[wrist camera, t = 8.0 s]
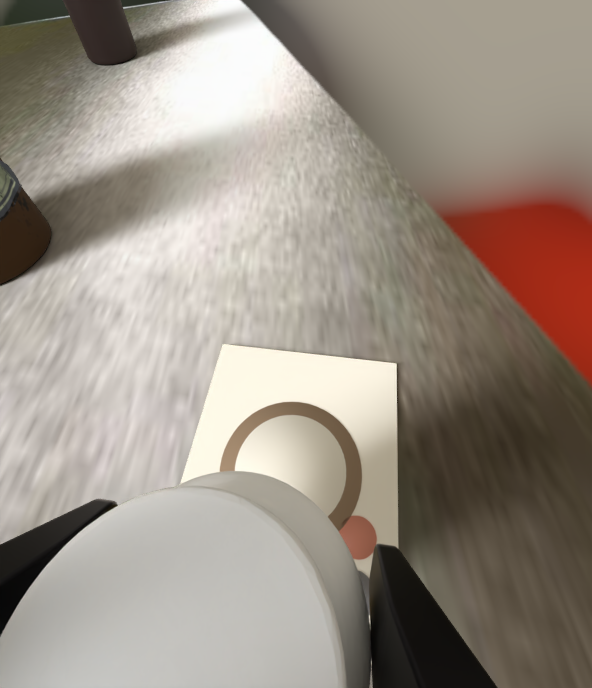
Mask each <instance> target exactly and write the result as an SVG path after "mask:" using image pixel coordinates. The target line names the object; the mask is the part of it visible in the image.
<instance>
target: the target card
mask: <svg viewBox="0 0 592 688" xmlns="http://www.w3.org/2000/svg"><path fill="white" fill-rule="evenodd" d="M224 471H246V472H253V473H259V474H263V475H267V476H270V477H273V478H276V479H278V480H280V481H283V482H285V483H287V484H289V485H290V486H292V487H294V488H295V489H297V490H298V491H300V492H301V493H303V494H304V495H305V496H307V497H308V498H309V499H310V500H311V501H313V502H314V503H315V504H316V505H317V506H318V507H319V508H320V509H321V510H322V511H323V512H324V513H325V514H326V516H327V517H328V518H329V519H330V521H331V522H332V523H333V525H334V526H335V527H336V528H337V530H338V531H339V533H340V535H341V536H342V538H343V540H344V542H345V543H346V545H347V547H348V548H349V551H350V553H351V555H352V557H353V559H354V562H355V564H356V567H357V570H358V572H359V575H360V578H361V581H362V585H363V589H364V593H365V597H366V602H367V608H368V613H369V622H370V605H369V577H370V571H371V564H372V558H373V552H374V547H375V545H376V544H378V543H380V544H386V545H392V546H395V547H397V548H398V462H397V364H396V363H387V362H379V361H370V360H361V359H352V358H343V357H334V356H325V355H316V354H307V353H298V352H289V351H280V350H271V349H263V348H254V347H245V346H236V345H227V344H223V345H222V349H221V352H220V355H219V358H218V362H217V365H216V368H215V372H214V375H213V378H212V381H211V385H210V388H209V391H208V395H207V398H206V401H205V404H204V408H203V411H202V414H201V418H200V421H199V424H198V428H197V431H196V434H195V437H194V441H193V444H192V447H191V451H190V454H189V457H188V460H187V464H186V467H185V470H184V474H183V477H182V480H181V483H184V482H186V481H188V480H191V479H193V478H197V477H200V476H203V475H207V474H211V473H217V472H224ZM181 483H180V484H181ZM371 665H372V661H371Z"/></svg>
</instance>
